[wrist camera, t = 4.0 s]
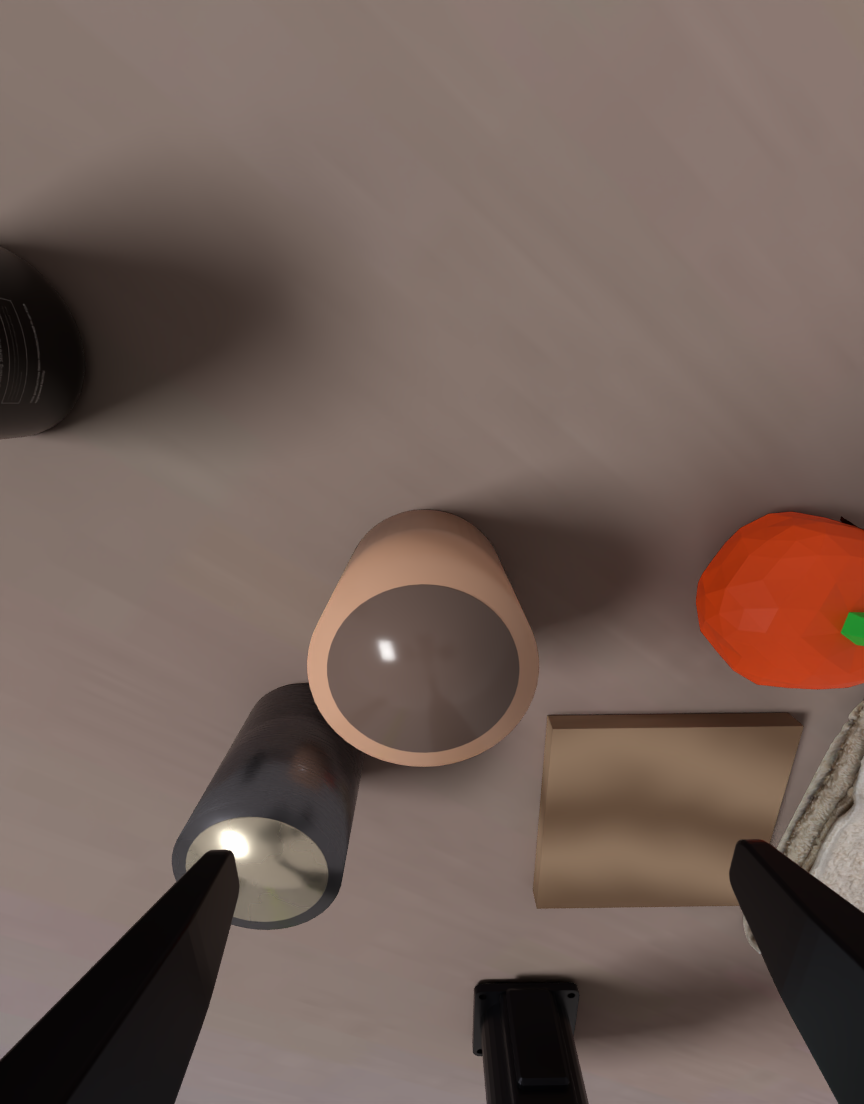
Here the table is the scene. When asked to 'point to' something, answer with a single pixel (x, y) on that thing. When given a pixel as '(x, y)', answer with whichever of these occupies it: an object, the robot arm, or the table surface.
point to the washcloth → (832, 819)
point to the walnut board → (656, 805)
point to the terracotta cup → (423, 644)
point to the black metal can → (279, 811)
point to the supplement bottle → (35, 351)
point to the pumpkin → (788, 602)
